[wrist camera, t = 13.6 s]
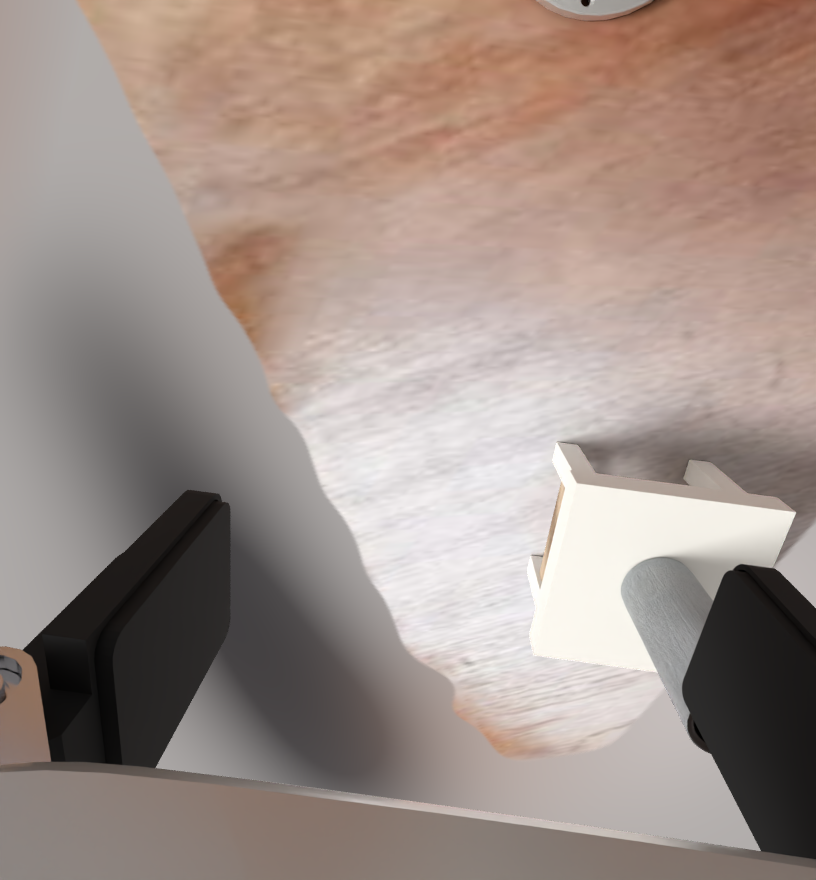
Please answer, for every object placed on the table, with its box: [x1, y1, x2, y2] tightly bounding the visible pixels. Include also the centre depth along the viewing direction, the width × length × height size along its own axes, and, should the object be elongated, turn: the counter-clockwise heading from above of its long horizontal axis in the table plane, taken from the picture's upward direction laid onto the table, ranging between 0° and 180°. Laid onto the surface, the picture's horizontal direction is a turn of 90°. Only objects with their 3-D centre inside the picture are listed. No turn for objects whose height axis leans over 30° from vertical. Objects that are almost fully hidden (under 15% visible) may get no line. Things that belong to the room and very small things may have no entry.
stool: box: [527, 442, 796, 672], centre depth 39 cm, size 13×13×9 cm
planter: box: [621, 558, 713, 754], centre depth 30 cm, size 4×4×10 cm
